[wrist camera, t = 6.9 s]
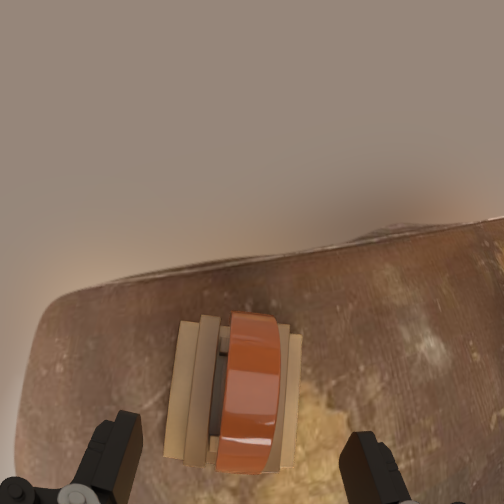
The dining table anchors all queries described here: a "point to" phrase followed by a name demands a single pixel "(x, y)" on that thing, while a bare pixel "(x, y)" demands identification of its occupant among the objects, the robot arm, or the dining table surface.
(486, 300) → the dining table surface
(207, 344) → the rack
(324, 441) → the dining table surface
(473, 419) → the dining table surface
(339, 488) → the dining table surface
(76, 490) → the robot arm
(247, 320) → the disc
